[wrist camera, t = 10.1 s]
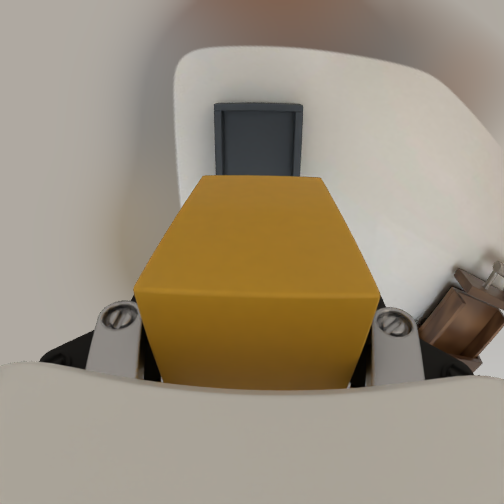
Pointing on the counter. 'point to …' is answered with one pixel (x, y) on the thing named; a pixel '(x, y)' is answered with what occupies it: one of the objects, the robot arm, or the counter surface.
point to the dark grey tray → (258, 138)
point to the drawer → (466, 316)
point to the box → (257, 288)
